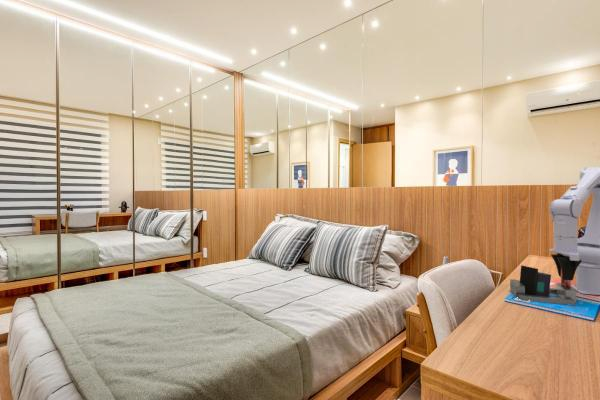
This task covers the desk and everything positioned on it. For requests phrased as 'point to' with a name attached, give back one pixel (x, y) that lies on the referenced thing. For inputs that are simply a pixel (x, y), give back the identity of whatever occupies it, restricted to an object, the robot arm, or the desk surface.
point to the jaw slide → (565, 289)
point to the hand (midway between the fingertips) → (565, 278)
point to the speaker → (535, 281)
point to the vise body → (519, 292)
